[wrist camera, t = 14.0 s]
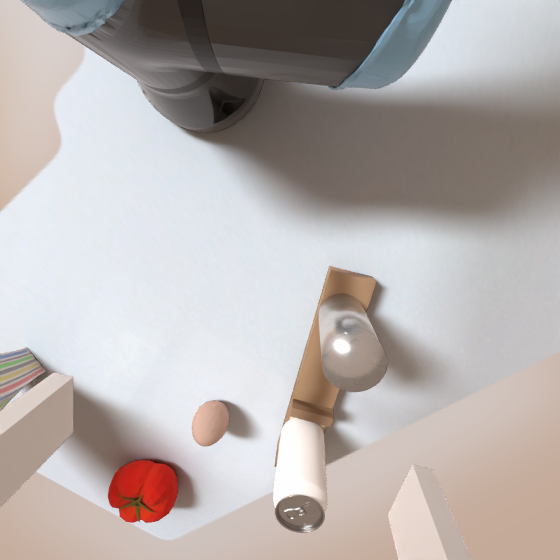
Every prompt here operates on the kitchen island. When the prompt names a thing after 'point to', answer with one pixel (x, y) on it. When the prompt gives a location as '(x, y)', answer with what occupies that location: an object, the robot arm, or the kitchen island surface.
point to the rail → (311, 380)
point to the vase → (16, 373)
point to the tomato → (143, 491)
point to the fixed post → (349, 345)
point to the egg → (210, 423)
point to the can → (301, 477)
